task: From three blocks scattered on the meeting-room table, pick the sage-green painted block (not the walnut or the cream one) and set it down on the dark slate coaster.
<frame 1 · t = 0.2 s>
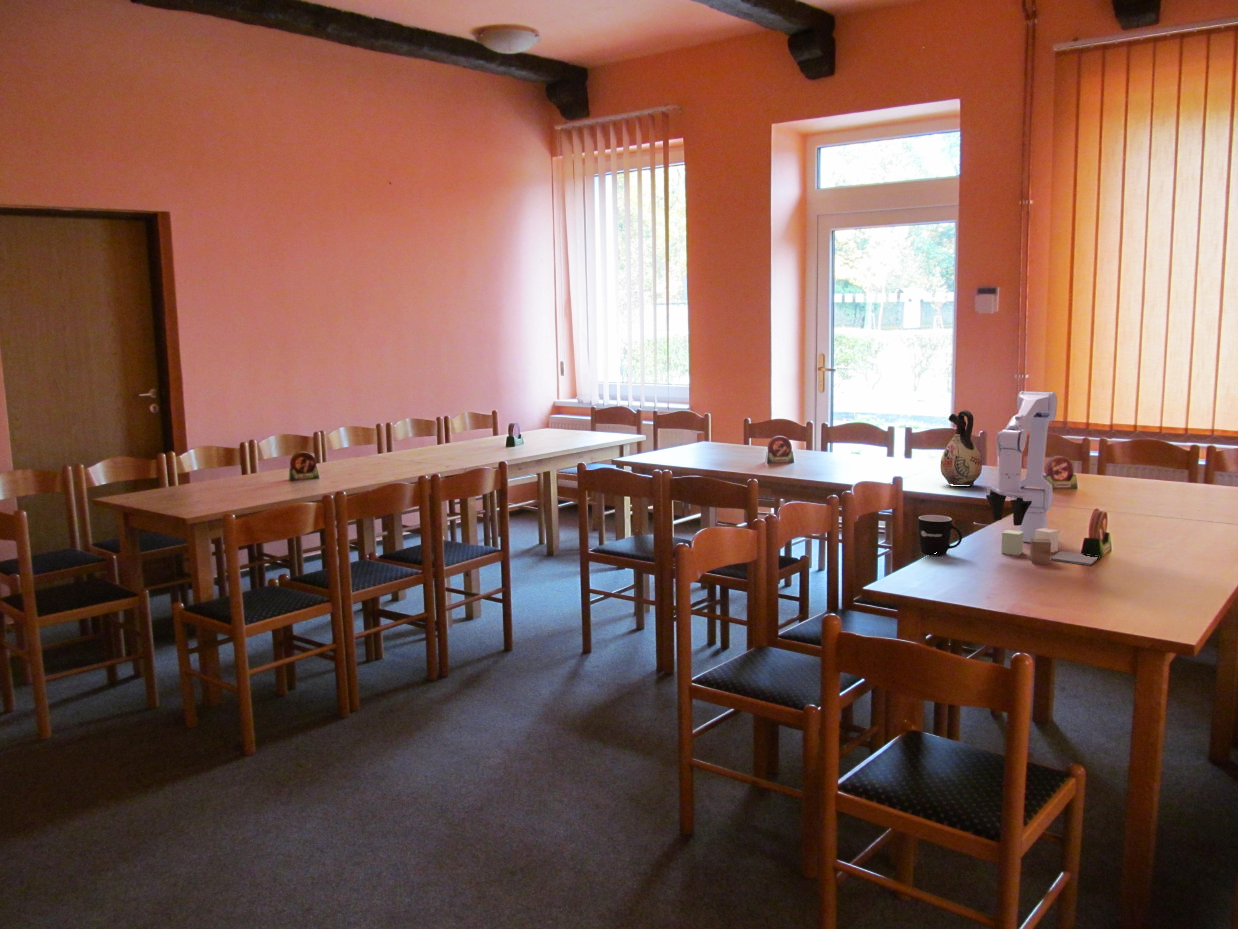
hand: (1007, 522, 270), 10 cm above the table, tool pointing down, fingers open, 7 cm apart
walnut block: (1039, 561, 266), on the table
green block: (1012, 553, 276), on the table
mug: (939, 554, 275), on the table
coaster: (1074, 559, 268), on the table
cream block: (1046, 550, 278), on the table
ceramic jug: (961, 486, 384), on the table
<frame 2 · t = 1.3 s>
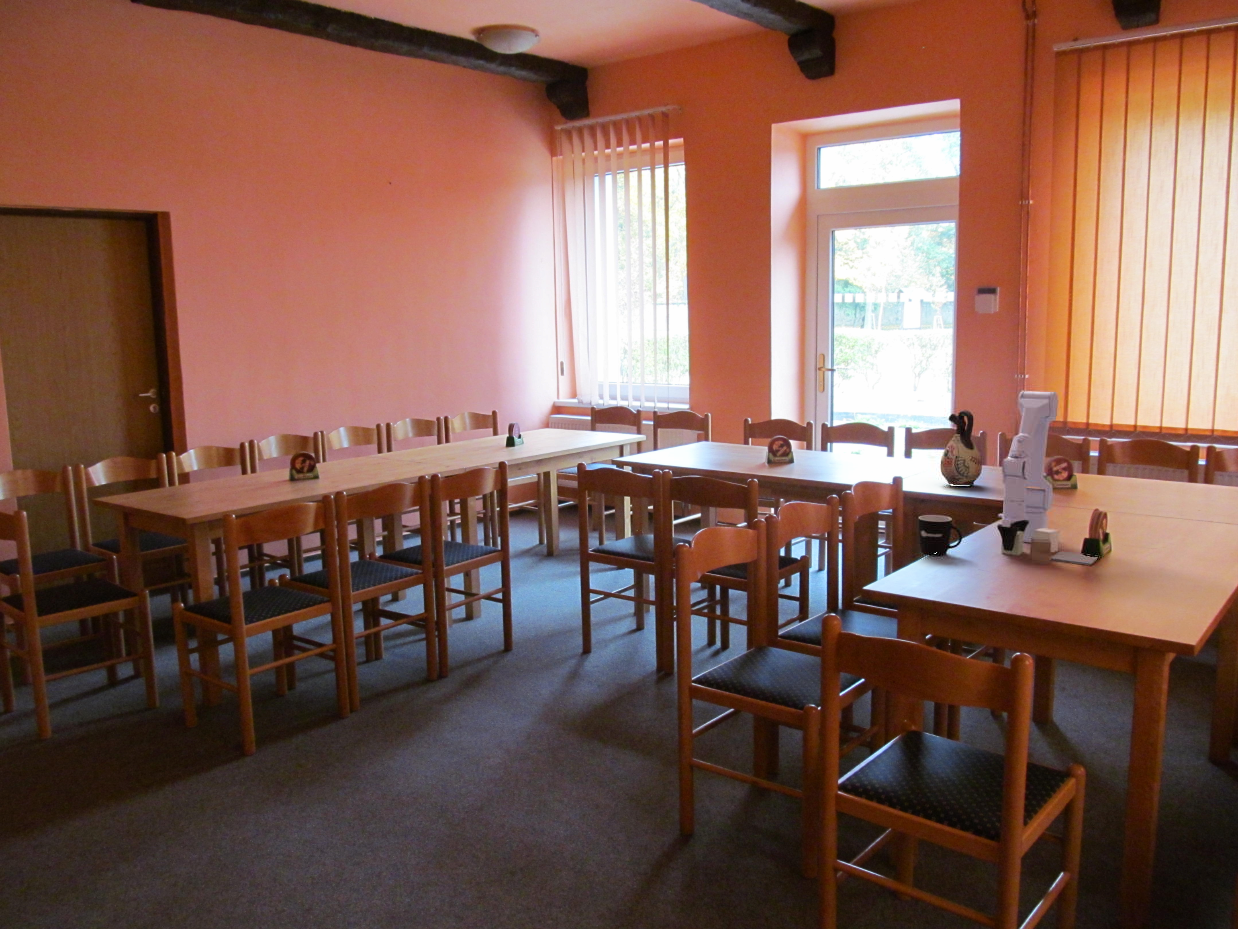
hand: (1012, 547, 276), 1 cm above the table, tool pointing down, fingers open, 7 cm apart
nothing on the table moved.
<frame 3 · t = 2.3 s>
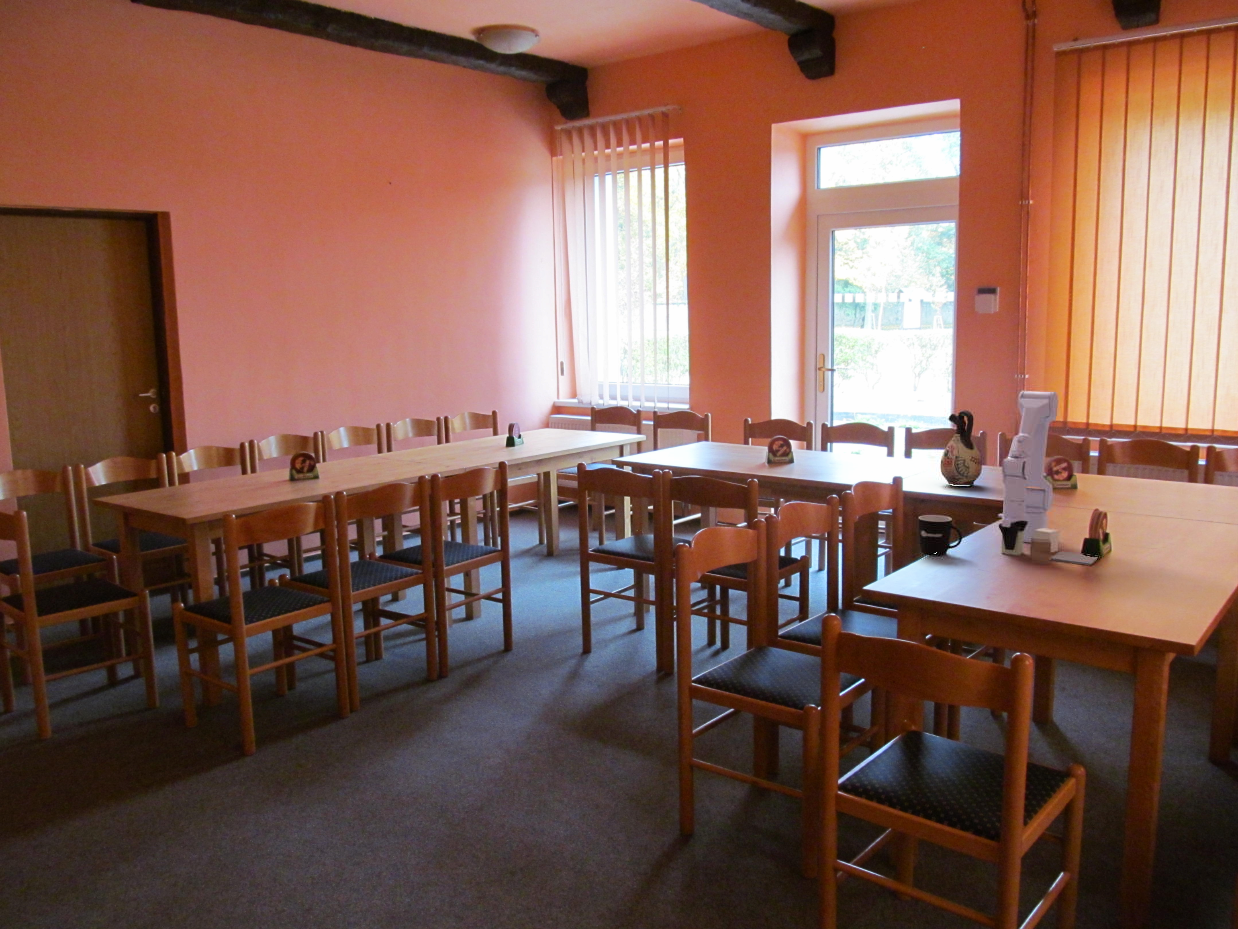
hand: (1012, 547, 276), 1 cm above the table, tool pointing down, fingers closed on green block, 4 cm apart
green block: (1012, 552, 276), on the table, touching gripper
everything else where it was.
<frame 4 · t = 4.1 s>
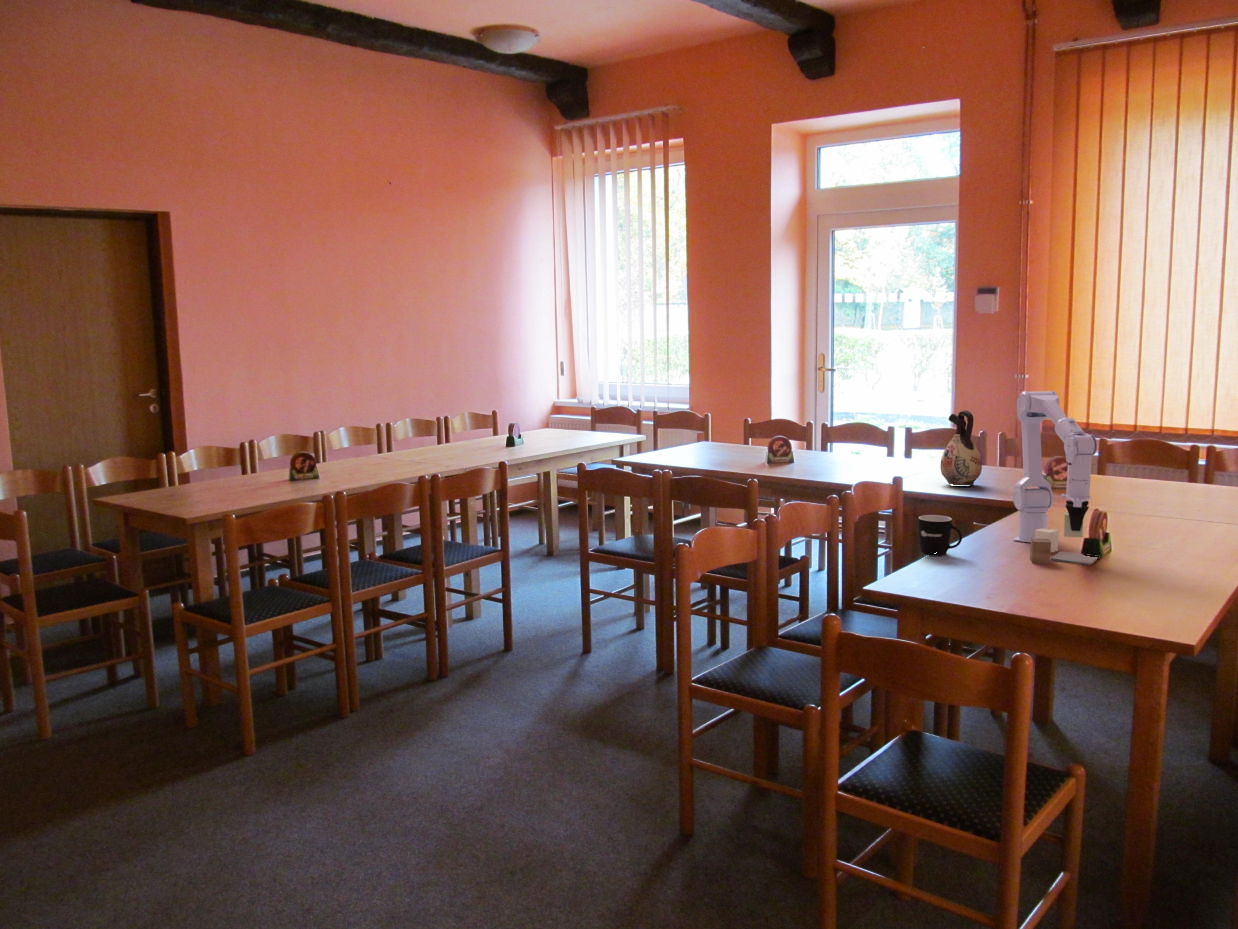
hand: (1075, 528, 267), 8 cm above the table, tool pointing down, fingers closed on green block, 4 cm apart
green block: (1073, 535, 267), point 7 cm above the table, touching gripper
everything else where it was.
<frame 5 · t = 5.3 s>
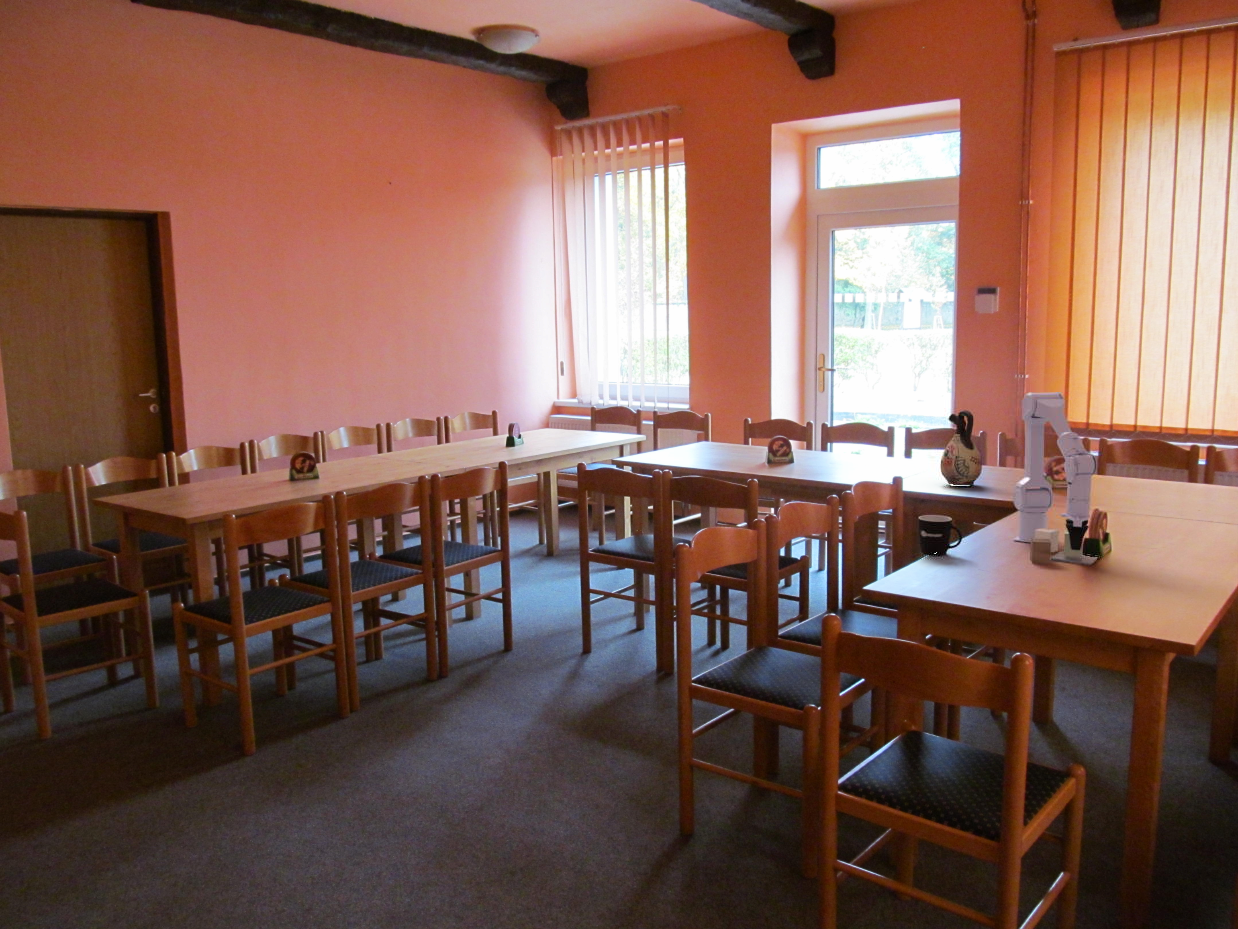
hand: (1075, 547, 267), 3 cm above the table, tool pointing down, fingers closed on green block, 4 cm apart
green block: (1073, 554, 268), point 1 cm above the table, touching gripper
everything else where it was.
when the fingers open (3 cm above the table, at t = 6.0 s): green block stays where it is, resting on coaster.
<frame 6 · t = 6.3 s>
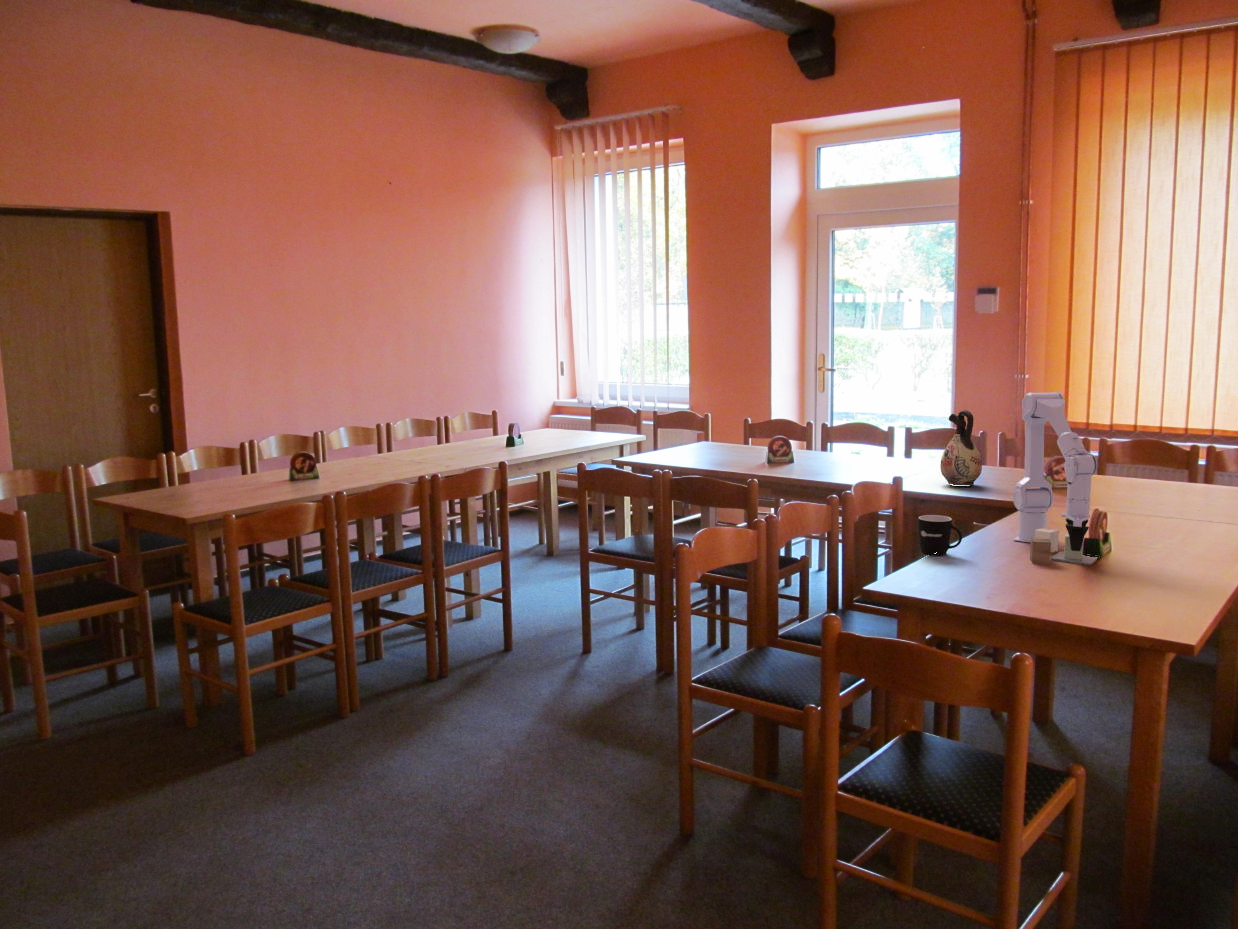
hand: (1075, 547, 267), 3 cm above the table, tool pointing down, fingers open, 7 cm apart
green block: (1073, 556, 268), point 1 cm above the table, touching coaster
everything else where it was.
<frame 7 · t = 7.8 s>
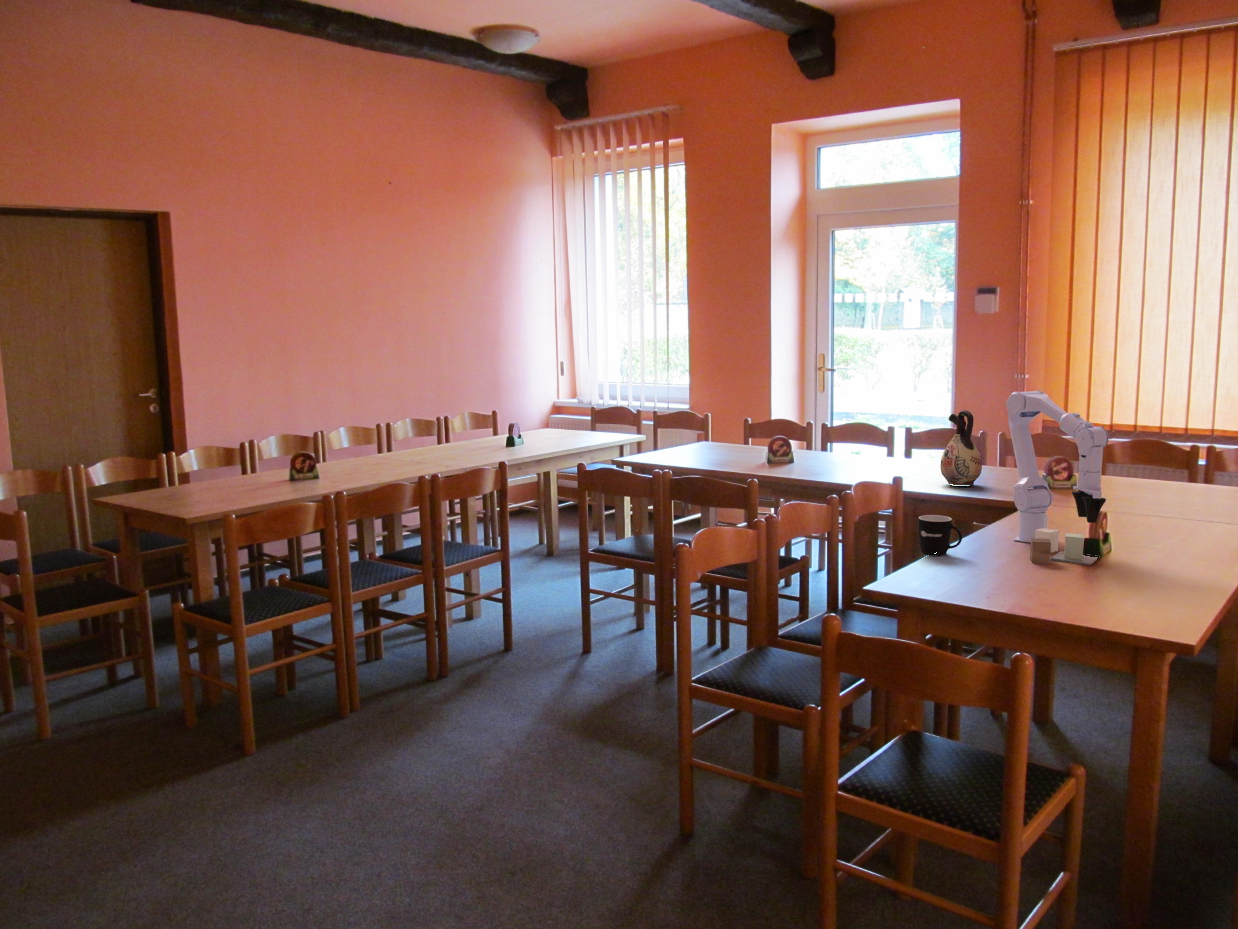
hand: (1087, 519, 271), 10 cm above the table, tool pointing down, fingers open, 7 cm apart
nothing on the table moved.
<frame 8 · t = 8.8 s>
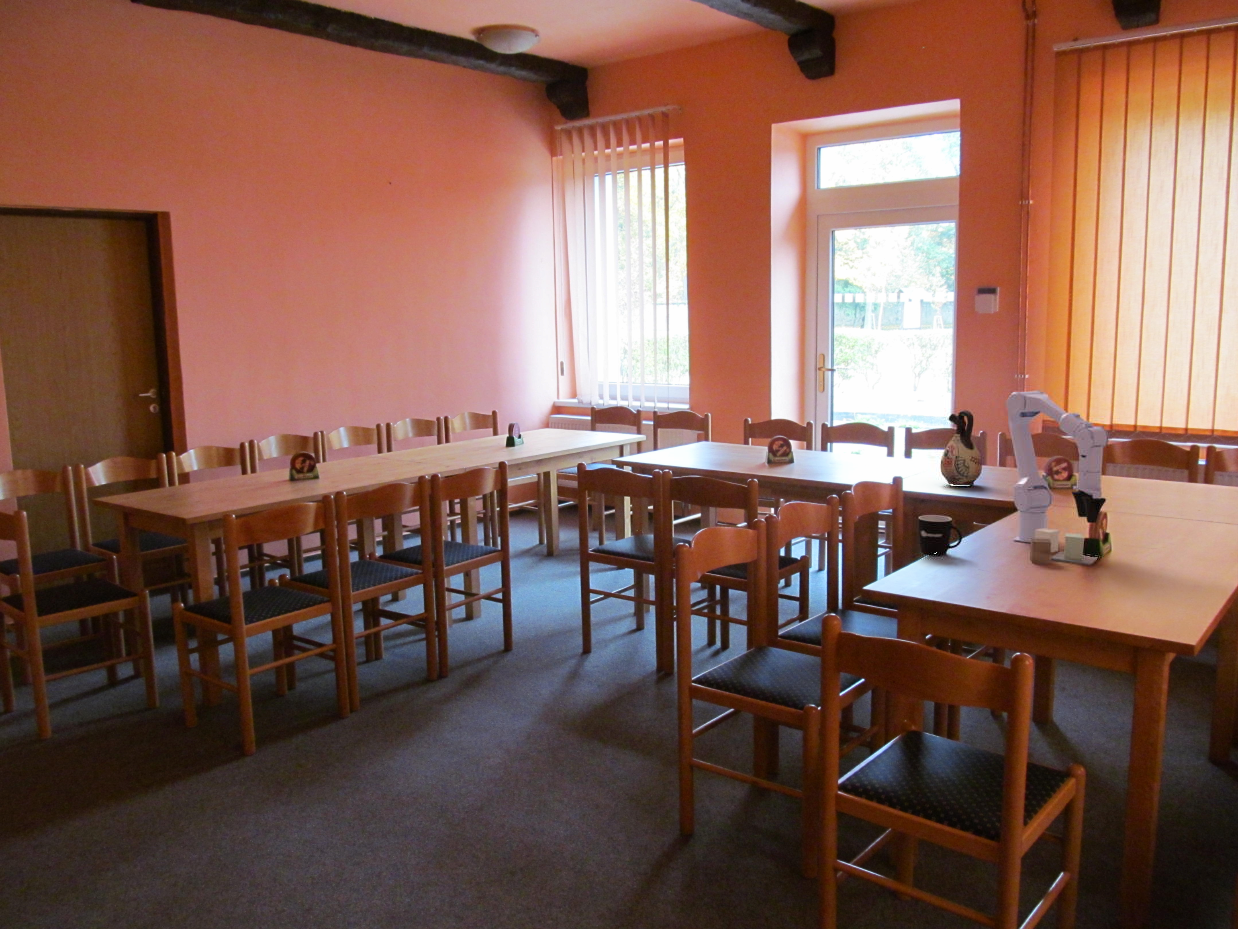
hand: (1087, 519, 271), 10 cm above the table, tool pointing down, fingers open, 7 cm apart
nothing on the table moved.
at the end: green block inside the target area on the coaster (0.4 cm from its centre), point 0.6 cm above the coaster's base; green block tilted 0°; the gripper is holding nothing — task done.
